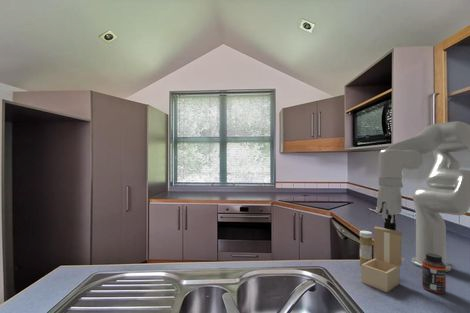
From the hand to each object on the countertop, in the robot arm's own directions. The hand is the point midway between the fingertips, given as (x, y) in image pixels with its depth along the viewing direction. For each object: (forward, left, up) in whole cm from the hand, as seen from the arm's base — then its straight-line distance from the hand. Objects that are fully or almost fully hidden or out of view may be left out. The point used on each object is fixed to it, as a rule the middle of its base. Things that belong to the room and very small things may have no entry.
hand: (389, 233), depth 87 cm
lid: (+3, 0, -4) cm, 5 cm away
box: (+8, 0, -16) cm, 18 cm away
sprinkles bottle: (-3, -10, -16) cm, 19 cm away
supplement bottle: (-2, +12, -16) cm, 20 cm away
